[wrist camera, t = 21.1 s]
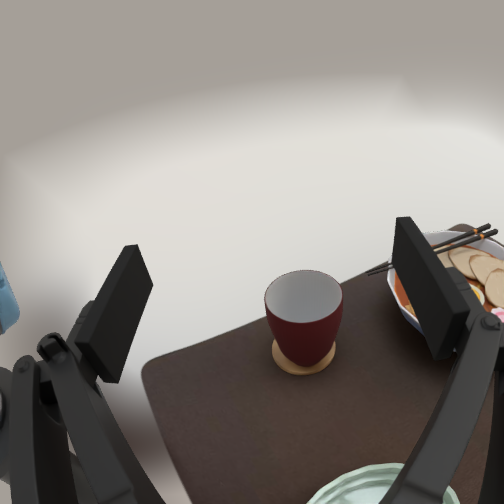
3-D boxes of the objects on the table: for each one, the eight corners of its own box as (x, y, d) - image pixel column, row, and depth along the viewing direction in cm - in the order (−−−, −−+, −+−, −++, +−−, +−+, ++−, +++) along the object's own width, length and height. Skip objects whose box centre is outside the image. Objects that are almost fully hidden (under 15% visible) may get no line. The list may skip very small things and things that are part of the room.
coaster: (294, 386, 35) (294, 383, 35) (260, 344, 41) (260, 341, 41) (348, 353, 38) (348, 350, 37) (311, 317, 44) (311, 314, 43)
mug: (265, 324, 43) (254, 265, 38) (322, 311, 44) (321, 251, 38) (281, 388, 35) (272, 332, 29) (348, 371, 35) (355, 311, 29)
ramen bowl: (425, 421, 28) (449, 382, 23) (347, 293, 47) (348, 247, 42) (549, 337, 30) (572, 295, 25) (466, 253, 49) (475, 213, 44)
